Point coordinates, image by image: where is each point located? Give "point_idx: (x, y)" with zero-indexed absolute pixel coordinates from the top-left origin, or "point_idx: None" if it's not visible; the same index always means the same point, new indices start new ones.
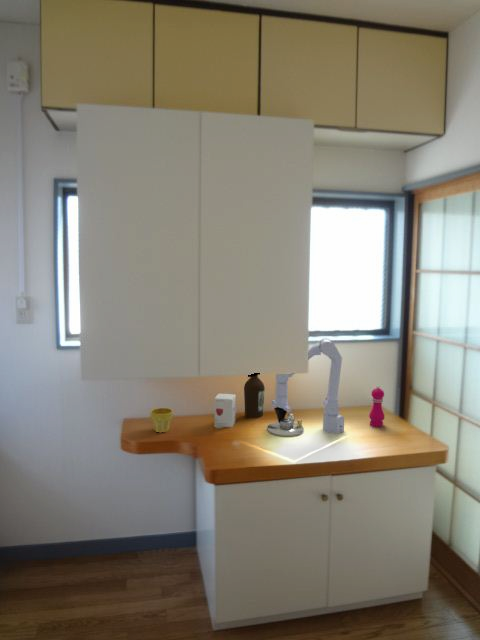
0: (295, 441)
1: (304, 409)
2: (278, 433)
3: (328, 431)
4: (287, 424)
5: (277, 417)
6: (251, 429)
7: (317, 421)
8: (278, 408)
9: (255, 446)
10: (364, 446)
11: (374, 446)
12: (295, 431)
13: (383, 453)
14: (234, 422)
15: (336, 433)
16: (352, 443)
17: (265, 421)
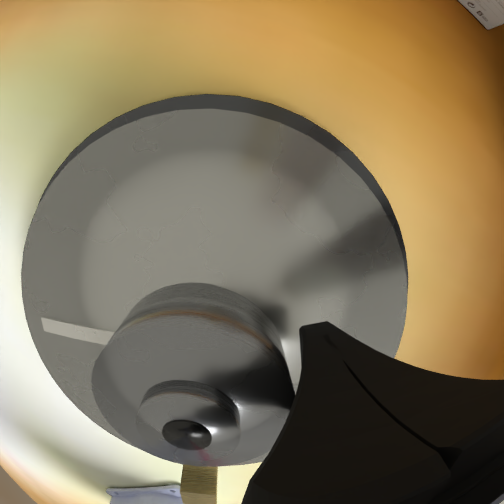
0: (15, 303)
1: None
2: (45, 196)
3: (137, 498)
4: (97, 375)
5: (365, 346)
6: (378, 33)
7: None
8: (447, 493)
9: (28, 6)
10: (34, 476)
11: (42, 488)
12: (80, 379)
13: (6, 467)
14: (474, 1)
15: (112, 500)
16: (48, 475)
17: (493, 243)
